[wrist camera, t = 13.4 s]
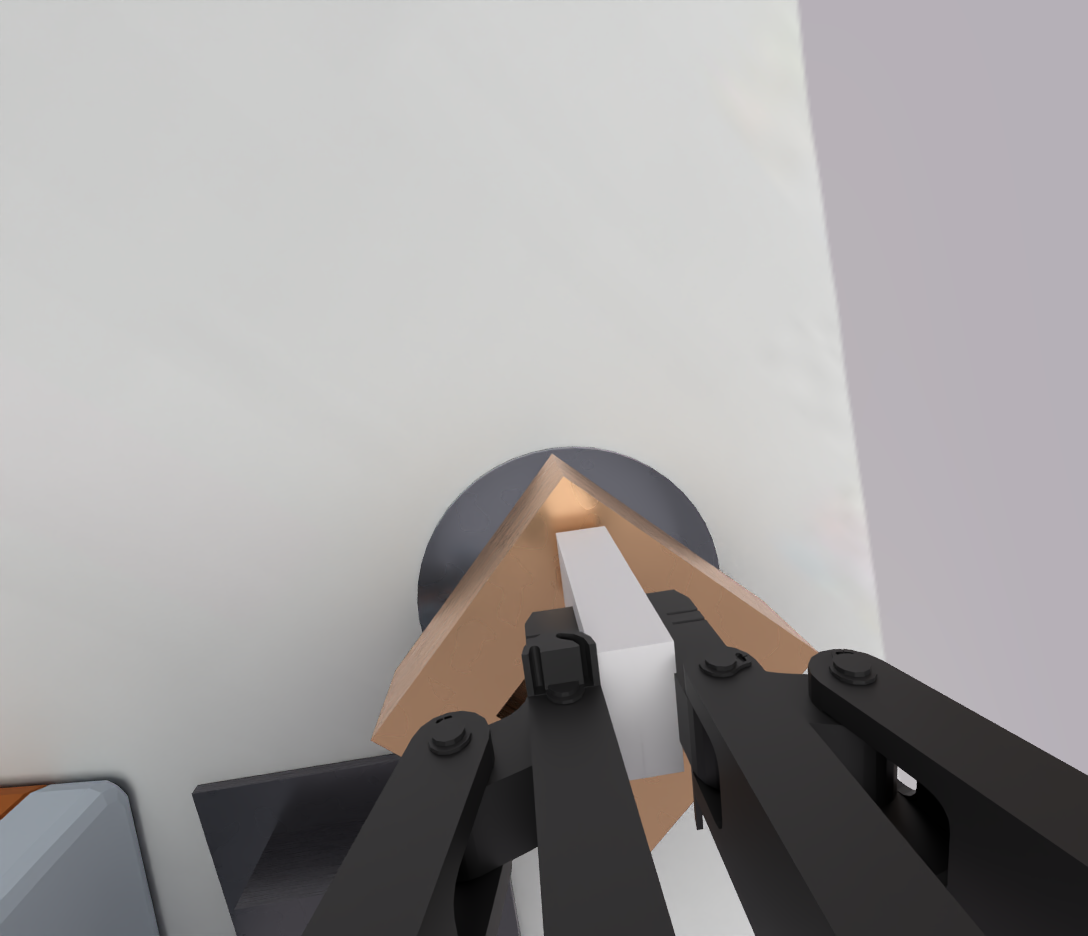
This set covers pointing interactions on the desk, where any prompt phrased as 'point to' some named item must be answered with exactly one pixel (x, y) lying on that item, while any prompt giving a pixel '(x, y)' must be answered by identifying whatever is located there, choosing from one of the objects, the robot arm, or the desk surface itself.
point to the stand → (293, 840)
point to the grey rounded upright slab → (71, 863)
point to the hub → (506, 483)
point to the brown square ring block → (535, 585)
